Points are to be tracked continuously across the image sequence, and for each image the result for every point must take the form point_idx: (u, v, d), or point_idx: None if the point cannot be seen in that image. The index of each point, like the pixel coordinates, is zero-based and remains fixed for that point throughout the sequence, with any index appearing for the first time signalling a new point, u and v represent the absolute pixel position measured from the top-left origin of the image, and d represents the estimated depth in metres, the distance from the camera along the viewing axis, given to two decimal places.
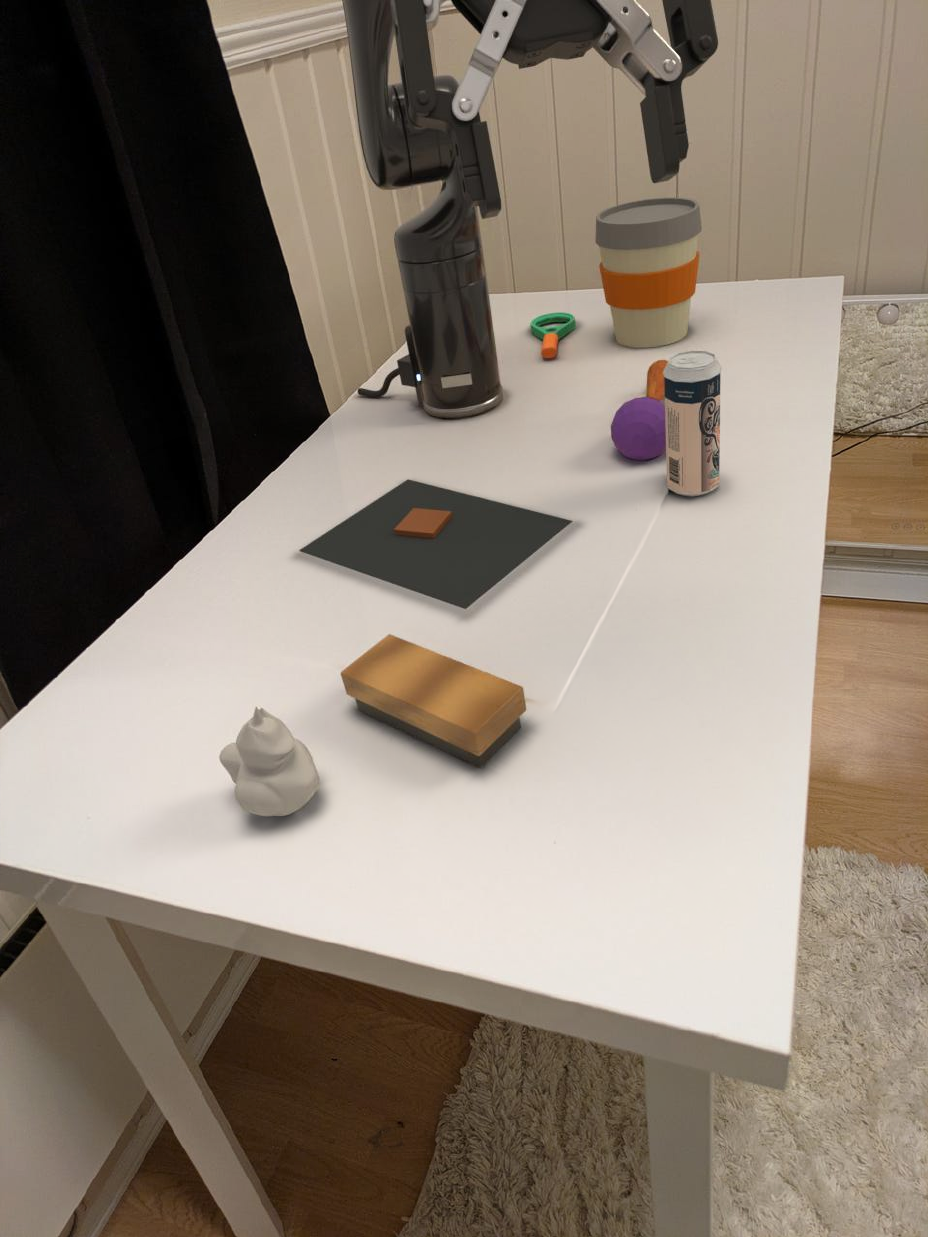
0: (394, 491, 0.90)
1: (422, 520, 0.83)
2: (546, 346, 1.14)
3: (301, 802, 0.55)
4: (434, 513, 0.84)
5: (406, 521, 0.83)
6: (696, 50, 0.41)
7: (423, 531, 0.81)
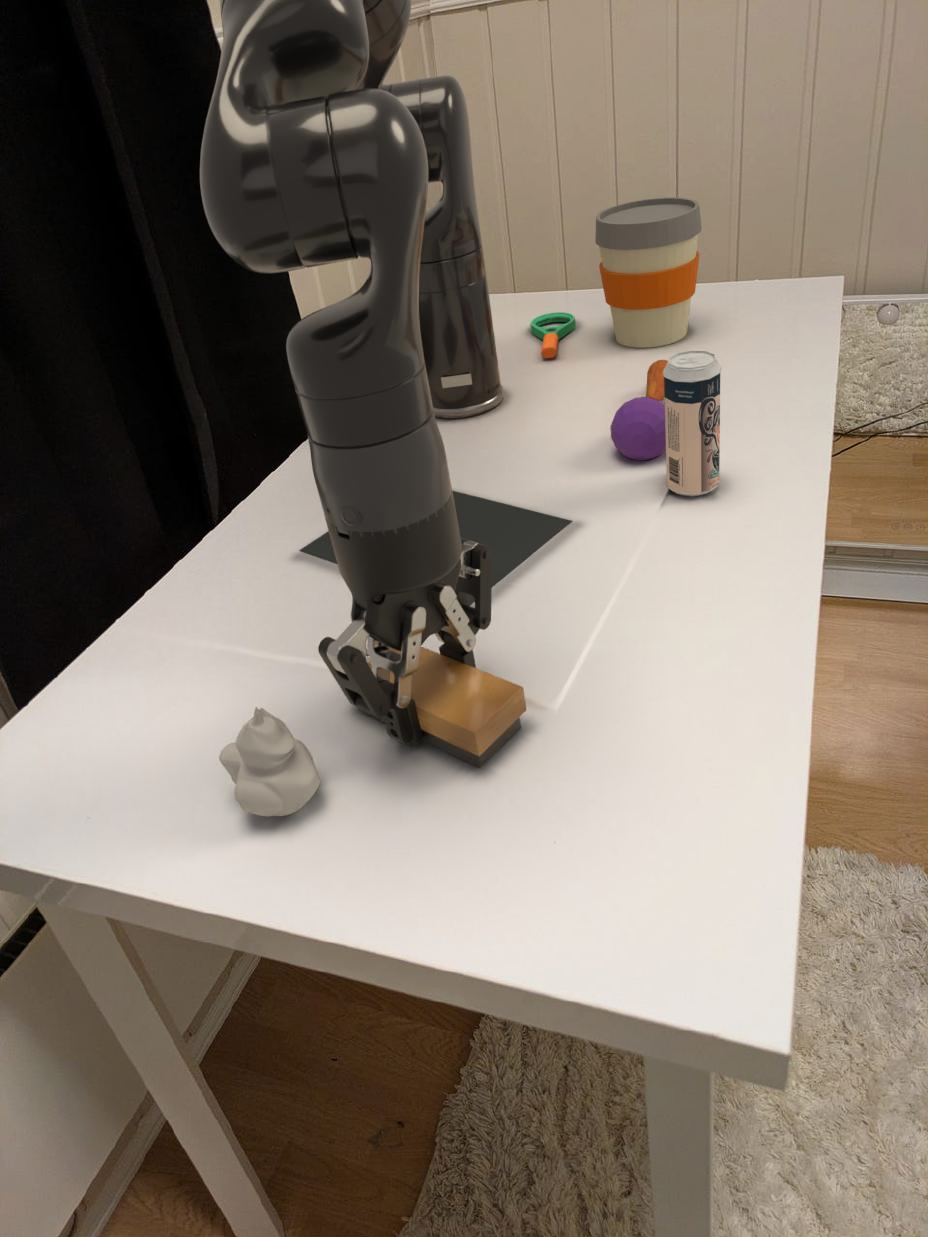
0: None
1: None
2: (546, 346, 1.14)
3: (301, 802, 0.55)
4: None
5: None
6: (480, 626, 0.61)
7: None
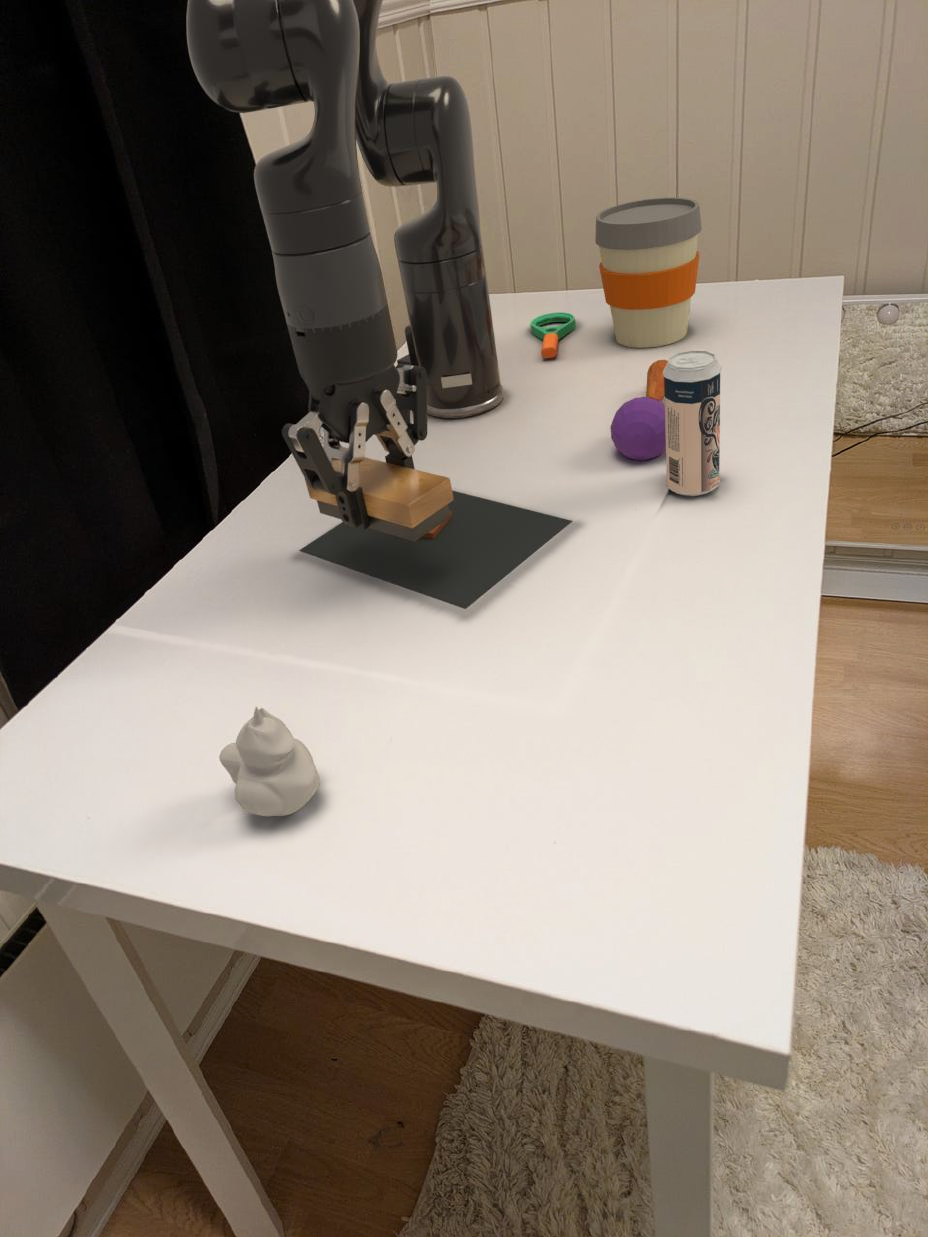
0: None
1: None
2: (546, 346, 1.14)
3: (301, 802, 0.55)
4: None
5: None
6: (418, 436, 0.75)
7: None
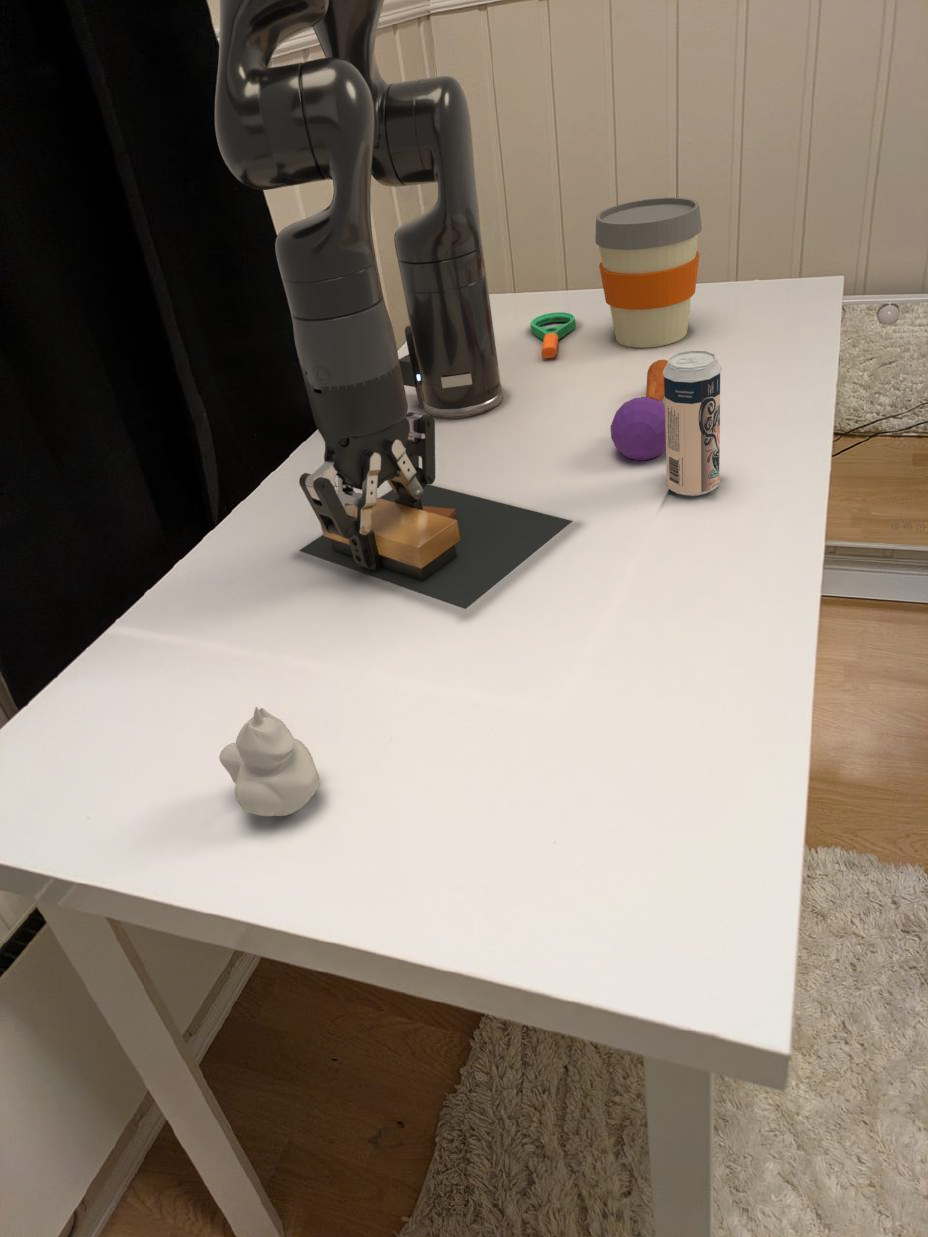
0: None
1: None
2: (546, 346, 1.14)
3: (301, 802, 0.55)
4: (438, 511, 0.84)
5: None
6: (427, 480, 0.79)
7: None
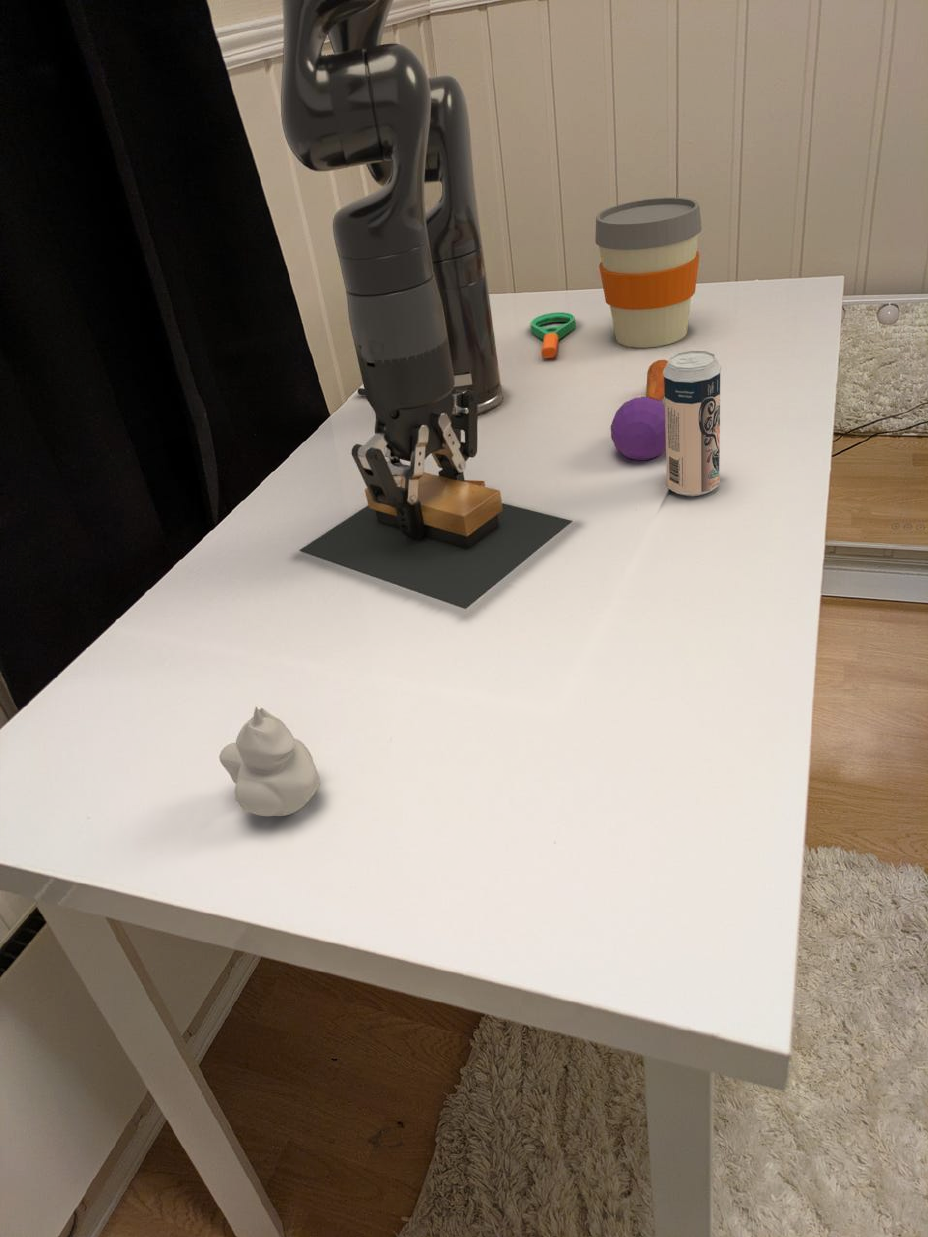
0: None
1: None
2: (546, 346, 1.14)
3: (301, 802, 0.55)
4: None
5: None
6: (469, 454, 0.82)
7: None
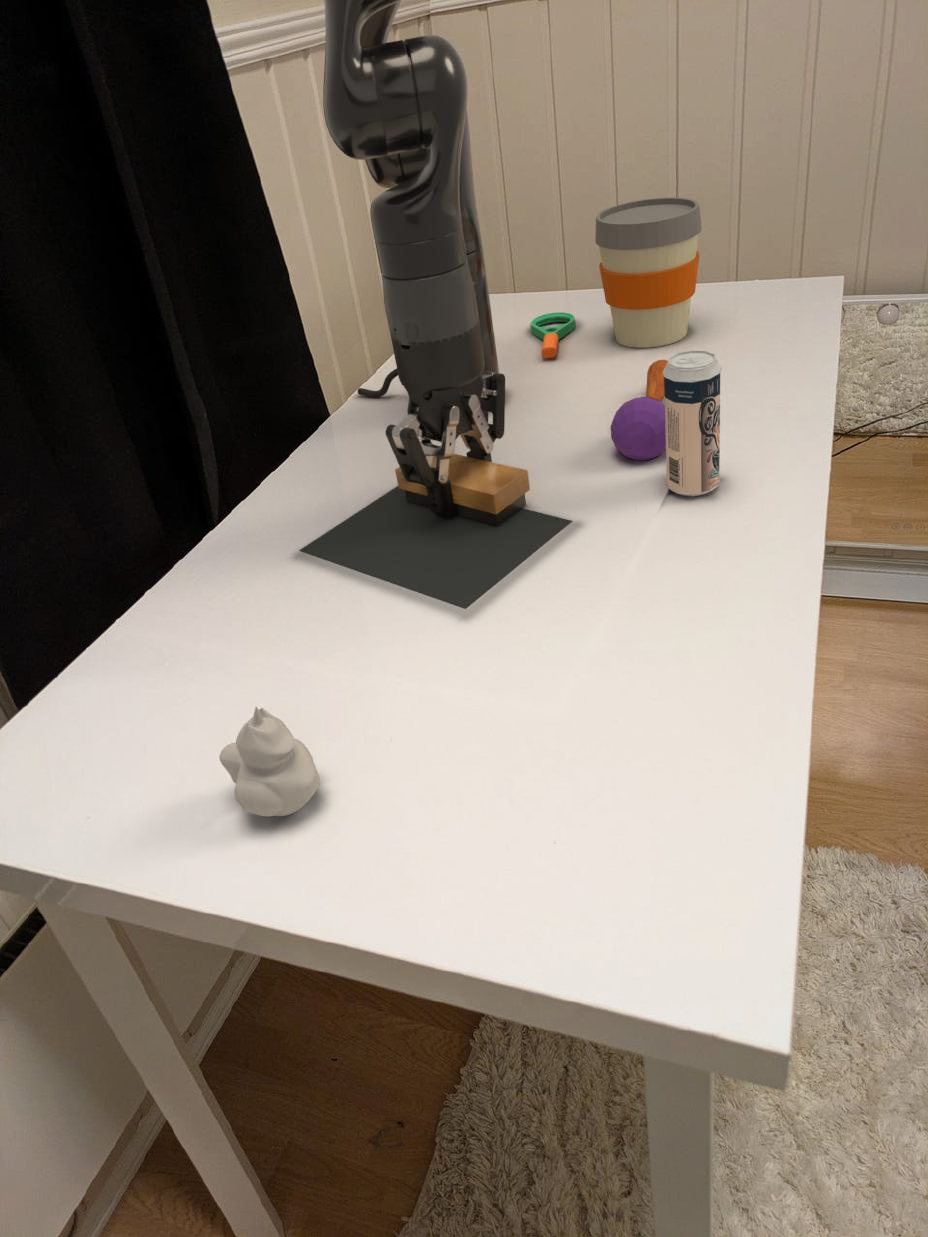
0: (394, 491, 0.90)
1: None
2: (546, 346, 1.14)
3: (301, 802, 0.55)
4: None
5: None
6: (497, 435, 0.85)
7: None
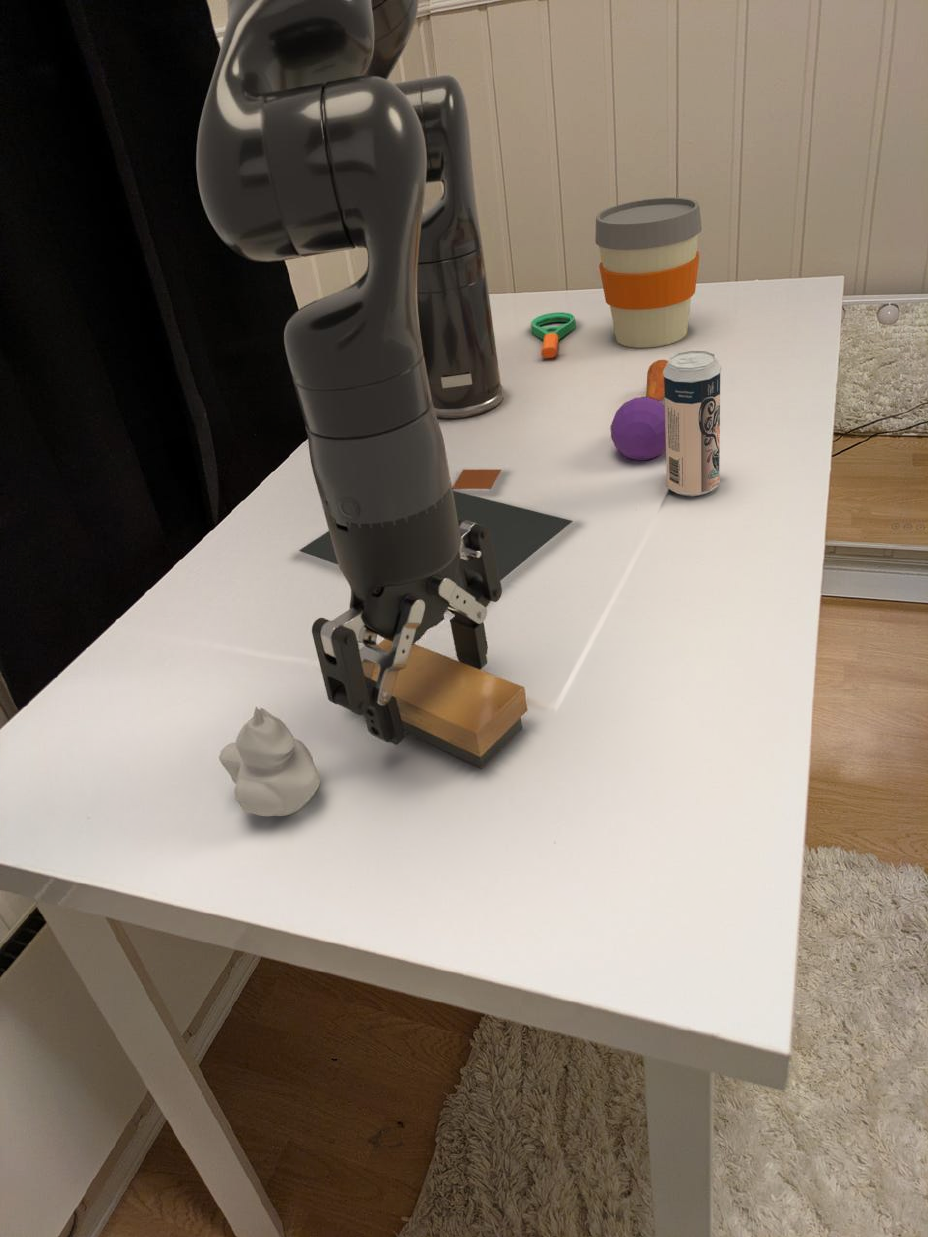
0: None
1: (476, 478, 0.89)
2: (547, 346, 1.14)
3: (301, 802, 0.55)
4: (485, 472, 0.90)
5: (461, 481, 0.89)
6: (492, 599, 0.61)
7: (481, 488, 0.88)
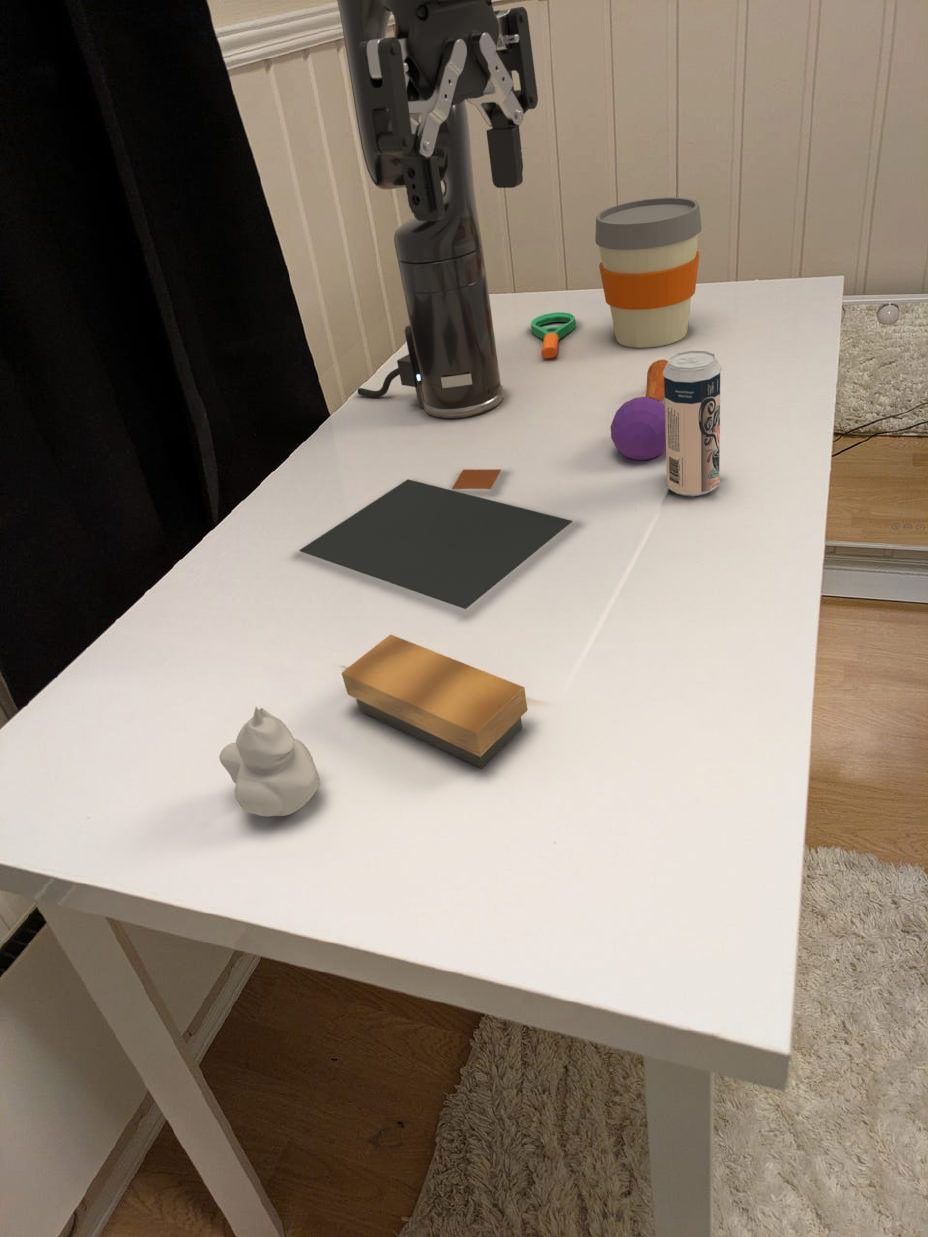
0: (394, 491, 0.90)
1: (476, 478, 0.89)
2: (547, 346, 1.14)
3: (301, 802, 0.55)
4: (485, 472, 0.90)
5: (461, 481, 0.89)
6: (528, 103, 0.62)
7: (481, 488, 0.88)
